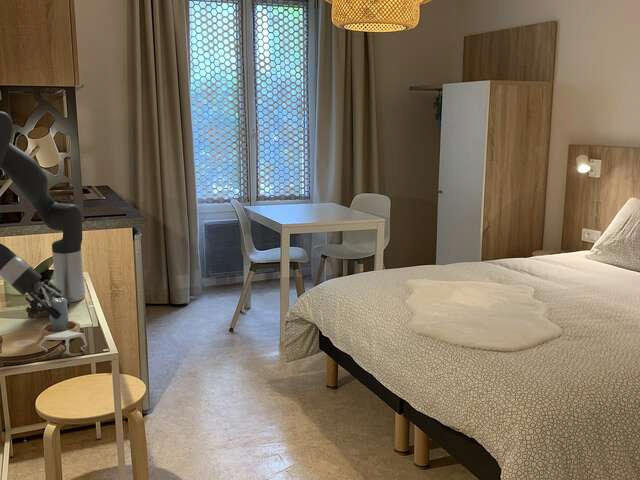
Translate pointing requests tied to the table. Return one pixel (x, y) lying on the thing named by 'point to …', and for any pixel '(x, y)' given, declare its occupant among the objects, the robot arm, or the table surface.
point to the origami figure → (64, 338)
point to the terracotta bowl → (47, 331)
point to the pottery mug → (32, 311)
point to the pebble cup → (62, 321)
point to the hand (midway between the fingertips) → (63, 312)
